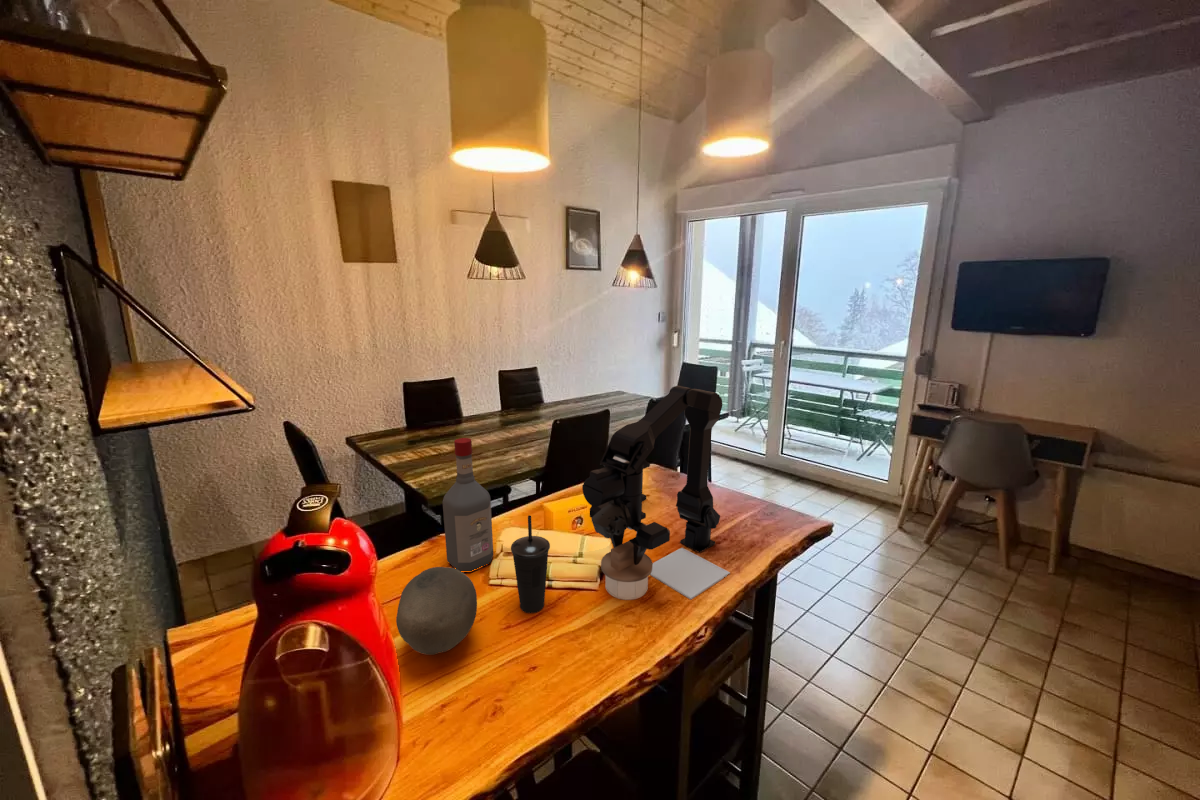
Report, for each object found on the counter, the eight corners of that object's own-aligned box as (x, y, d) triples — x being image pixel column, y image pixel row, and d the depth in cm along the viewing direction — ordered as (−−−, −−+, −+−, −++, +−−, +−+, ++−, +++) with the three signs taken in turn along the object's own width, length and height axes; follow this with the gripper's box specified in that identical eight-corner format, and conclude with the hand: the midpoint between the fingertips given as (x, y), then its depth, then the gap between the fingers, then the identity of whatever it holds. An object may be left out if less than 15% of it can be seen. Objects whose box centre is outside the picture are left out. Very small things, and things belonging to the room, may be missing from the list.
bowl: (626, 570, 113) (627, 550, 112) (655, 588, 106) (656, 567, 105) (597, 585, 107) (597, 565, 106) (626, 606, 101) (626, 584, 99)
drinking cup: (557, 598, 103) (555, 510, 98) (541, 621, 96) (538, 528, 91) (524, 590, 105) (521, 504, 100) (506, 613, 98) (502, 521, 93)
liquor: (498, 561, 116) (492, 440, 109) (463, 577, 110) (454, 450, 102) (477, 546, 122) (470, 431, 115) (443, 561, 116) (433, 440, 109)
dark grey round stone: (384, 650, 88) (375, 576, 84) (452, 611, 99) (447, 543, 95) (426, 692, 79) (419, 611, 76) (497, 644, 90) (493, 571, 86)
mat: (681, 548, 122) (681, 547, 121) (729, 574, 111) (730, 572, 111) (642, 570, 113) (642, 568, 113) (690, 599, 102) (690, 598, 102)
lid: (627, 547, 113) (627, 527, 112) (663, 568, 105) (663, 547, 104) (590, 565, 106) (590, 544, 105) (626, 589, 98) (626, 566, 97)
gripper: (569, 487, 103) (570, 553, 107) (632, 519, 89) (631, 594, 93) (609, 473, 110) (608, 536, 114) (673, 501, 96) (669, 572, 100)
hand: (627, 558), depth 105 cm, fingers open, 5 cm apart
